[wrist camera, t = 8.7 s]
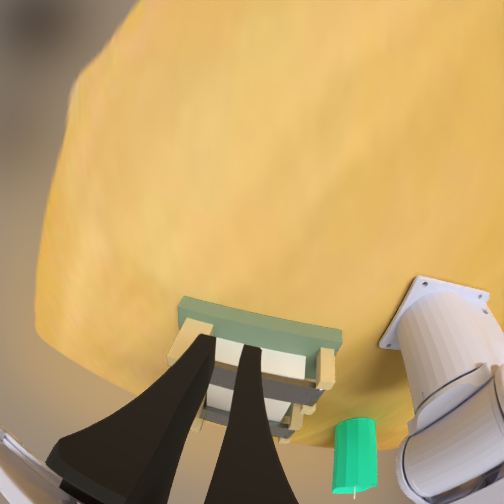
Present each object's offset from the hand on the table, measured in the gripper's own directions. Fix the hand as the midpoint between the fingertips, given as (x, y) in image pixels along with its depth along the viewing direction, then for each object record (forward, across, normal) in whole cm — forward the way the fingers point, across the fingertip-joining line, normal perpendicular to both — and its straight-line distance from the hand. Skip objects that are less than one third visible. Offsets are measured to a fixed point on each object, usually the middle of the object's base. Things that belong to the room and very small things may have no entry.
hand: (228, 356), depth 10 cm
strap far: (+6, -2, +20) cm, 21 cm away
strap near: (+6, -2, +11) cm, 13 cm away
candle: (+11, -18, +26) cm, 33 cm away
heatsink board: (+10, -1, +16) cm, 19 cm away
